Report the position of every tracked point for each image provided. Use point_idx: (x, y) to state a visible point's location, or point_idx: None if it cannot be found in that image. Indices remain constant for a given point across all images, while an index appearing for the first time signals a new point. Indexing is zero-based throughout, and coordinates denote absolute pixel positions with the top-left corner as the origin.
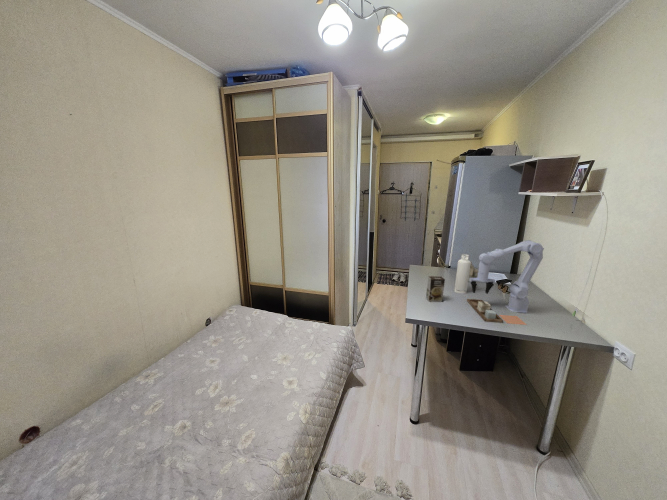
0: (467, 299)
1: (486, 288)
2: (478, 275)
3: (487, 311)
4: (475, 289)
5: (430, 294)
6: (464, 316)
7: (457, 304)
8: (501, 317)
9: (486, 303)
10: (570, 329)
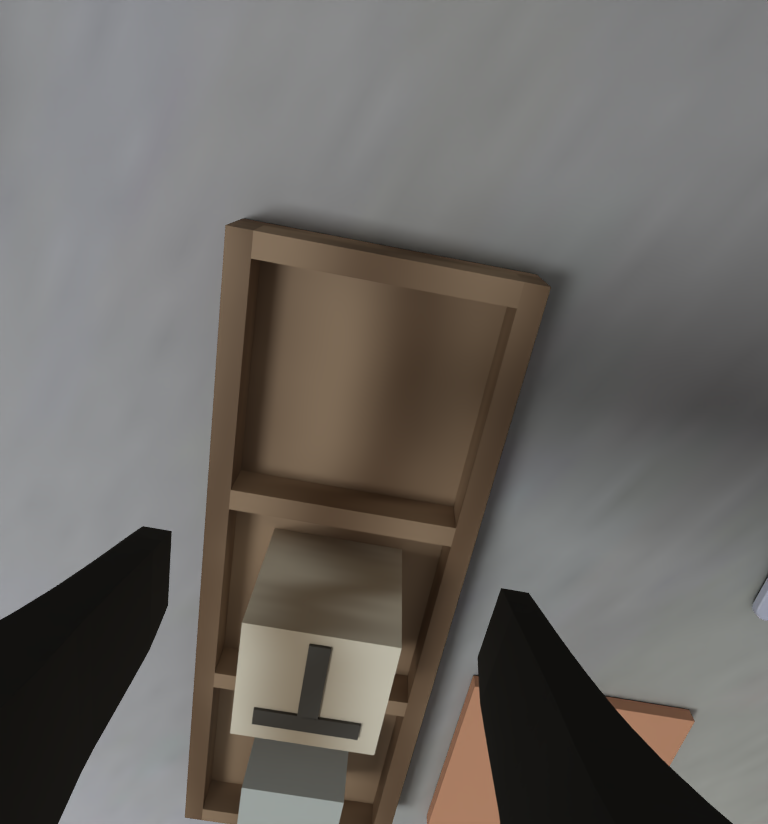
0: (223, 259)
1: (532, 715)
2: None
3: (240, 821)
4: (102, 727)
5: None
6: None
7: (16, 339)
8: (458, 737)
9: (348, 698)
10: None
